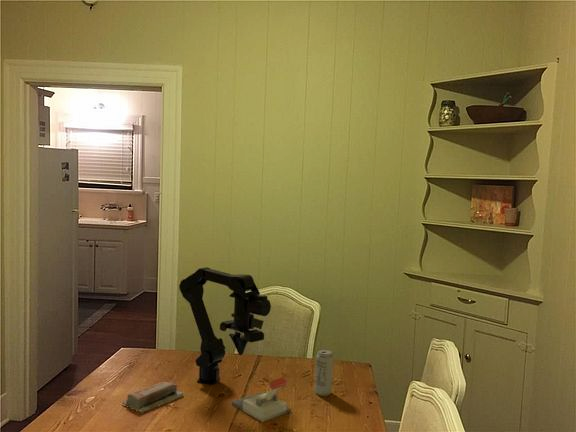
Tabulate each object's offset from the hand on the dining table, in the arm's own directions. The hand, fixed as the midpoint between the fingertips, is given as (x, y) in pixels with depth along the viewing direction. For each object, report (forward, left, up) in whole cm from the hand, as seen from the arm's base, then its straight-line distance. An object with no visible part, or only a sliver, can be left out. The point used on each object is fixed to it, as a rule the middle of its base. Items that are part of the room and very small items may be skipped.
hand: (240, 354), depth 186 cm
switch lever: (+15, -13, -8) cm, 22 cm away
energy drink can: (+28, +10, -13) cm, 33 cm away
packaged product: (-23, -19, -14) cm, 33 cm away
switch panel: (+12, -10, -13) cm, 20 cm away
